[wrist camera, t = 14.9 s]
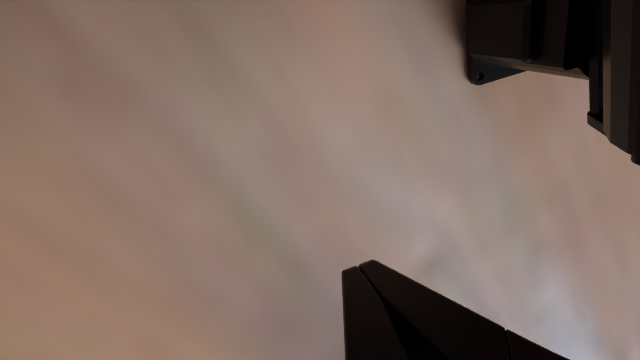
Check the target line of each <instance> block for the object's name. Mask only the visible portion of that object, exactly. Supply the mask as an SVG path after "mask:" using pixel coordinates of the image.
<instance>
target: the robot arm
mask: <svg viewBox="0 0 640 360" xmlns="http://www.w3.org/2000/svg"><path fill="white" fill-rule="evenodd" d="M467 52H468V78H469V81H470V83H472V84H474V85H482V84H485V83H489V82H492V81H495V80H499V79H502V78H505V77H508V76H512V75H515V74H518V73H521V72H525V71H534V72H540V73H547V74H553V75H560V76H566V77H573V78H579V79H586V80H589V102H590V111H589V112H588V113H587V123H588V124H589V125H590V126H592V127H593V128H595V129H596V130H598V131H599V132H601V133H602V134H604V135H605V136H607V138H608V140H609V141H610V143H612V144H614V145H615V146H617V147H618V148H620V149H621V150H623V151H625V152H626V153H628V154H630V155H631V161H632V162H633V163H635V164H637V165H639V166H640V0H467ZM478 73H479V74H480V75H479V78H478V79H477V75H478ZM342 296H343V319H344V342H345V360H570V359H567V358H565V357H563V356H561V355H558V354H556V353H554V352H552V351H550V350H548V349H546V348H544V347H542V346H540V345H538V344H536V343H534V342H532V341H530V340H528V339H526V338H524V337H522V336H520V335H518V334H516V333H514V332H512V331H510V330H508V329H507V330H506V331H505V328H504V327H502V326H500V325H498V324H497V323H495V322H493V321H491V320H489V319H487V318H485V317H483V316H481V315H479V314H477V313H475V312H474V311H472V310H470V309H468V308H466V307H464V306H462V305H460V304H458V303H456V302H454V301H452V300H451V299H449V298H447V297H445V296H443V295H441V294H439V293H437V292H435V291H433V290H431V289H429V288H428V287H426V286H424V285H422V284H420V283H418V282H416V281H414V280H412V279H410V278H408V277H406V276H405V275H403V274H401V273H399V272H397V271H395V270H393V269H391V268H389V267H387V266H385V265H383V264H382V263H380V262H378V261H376V260H370V261H367V262H364V263H361V264H359V266H358V267H357V266H353V267H351V268H348V269H345V270H343V271H342Z"/></svg>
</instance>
